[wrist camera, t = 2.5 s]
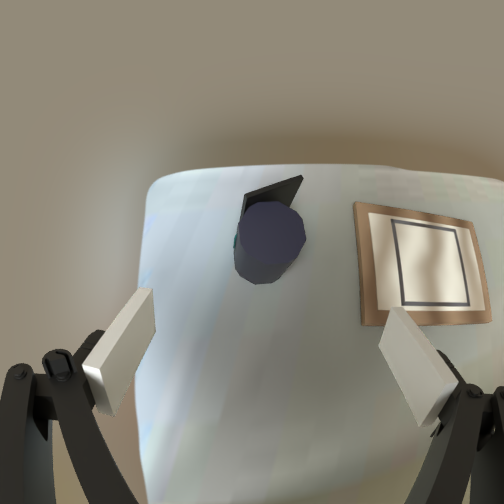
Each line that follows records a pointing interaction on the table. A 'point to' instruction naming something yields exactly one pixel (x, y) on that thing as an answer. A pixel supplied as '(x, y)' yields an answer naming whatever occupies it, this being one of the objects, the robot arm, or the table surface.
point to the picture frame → (419, 267)
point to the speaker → (268, 232)
